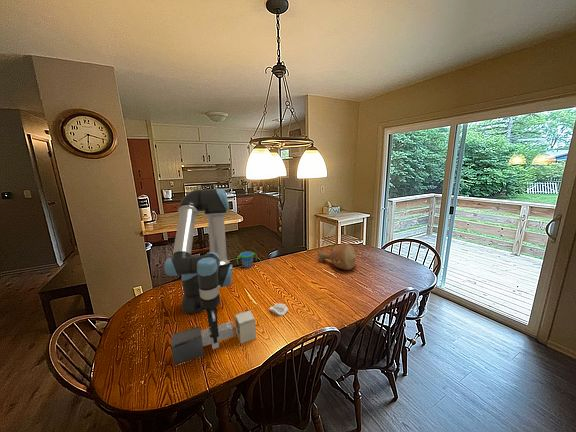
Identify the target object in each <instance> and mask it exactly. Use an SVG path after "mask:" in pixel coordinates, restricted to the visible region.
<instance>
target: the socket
mask: <svg viewBox="0 0 576 432" xmlns="http://www.w3.org/2000/svg"><path fill="white" fill-rule="evenodd" d="M234 316H235V326H236V336H237V338H238V340H239V342H240V344H241V345H243V344H245V343H247V342H250V341H253V340H255V339H257V331H256V330H257V329H256V327H257V326H256V319H255V317H254V314H253V313H252V311H251V310H250V309H249V310H245V311H243V312H239V313H236V314H234Z"/></svg>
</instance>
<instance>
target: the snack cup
mask: <svg viewBox="0 0 576 432" xmlns="http://www.w3.org/2000/svg"><path fill="white" fill-rule="evenodd" d="M254 256H255V261H257V260H258V256H257V254H256V253H255V252H253V251H247V250H246V251H243V252H240V253H239V255H238V256H237V258H236V263H237V264H239V258H240V261H241V265H242V267H243V268H245V269H247V268H252V267H253V263H254Z"/></svg>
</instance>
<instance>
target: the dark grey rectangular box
mask: <svg viewBox="0 0 576 432" xmlns="http://www.w3.org/2000/svg"><path fill="white" fill-rule="evenodd" d="M170 336H171V338H170V339H171V340H170V341H171V342H170V344H171V353H172V358H173V366H175V365H178V364H180V363H183V362H187V361H190V360H193V359H196V358H199V357H201V358H203V357H202V356H204V357H205V354H204V346H203V344H202V336H201V326H196V327H193V328H190V329H187V330H186V329H185V330H182V331H179V332H176V333H173V334H171V335H170ZM199 359H200V358H199ZM196 360H197V359H196ZM193 361H194V360H193ZM190 362H191V361H190ZM187 363H188V362H187Z"/></svg>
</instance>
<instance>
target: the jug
mask: <svg viewBox="0 0 576 432" xmlns="http://www.w3.org/2000/svg"><path fill="white" fill-rule="evenodd" d="M355 251H356V250H355V249H354V247H353V246H352V245H351V244H350V243H341V244H339V245H336V246H335V247H333V248H332V247H331V248H330V252H329V253H327V252H325V251H324V250H322V249H320V250H319V251H318V252H317V260H318V262H320V263H323V262H325V260H330V262H331V263H332V265H334V267H336V268H339V269H340V270H341V269H342V270H344V271H350V270H351V269H353V268H354V266H355V264H356V259H357V256H356V252H355Z"/></svg>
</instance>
